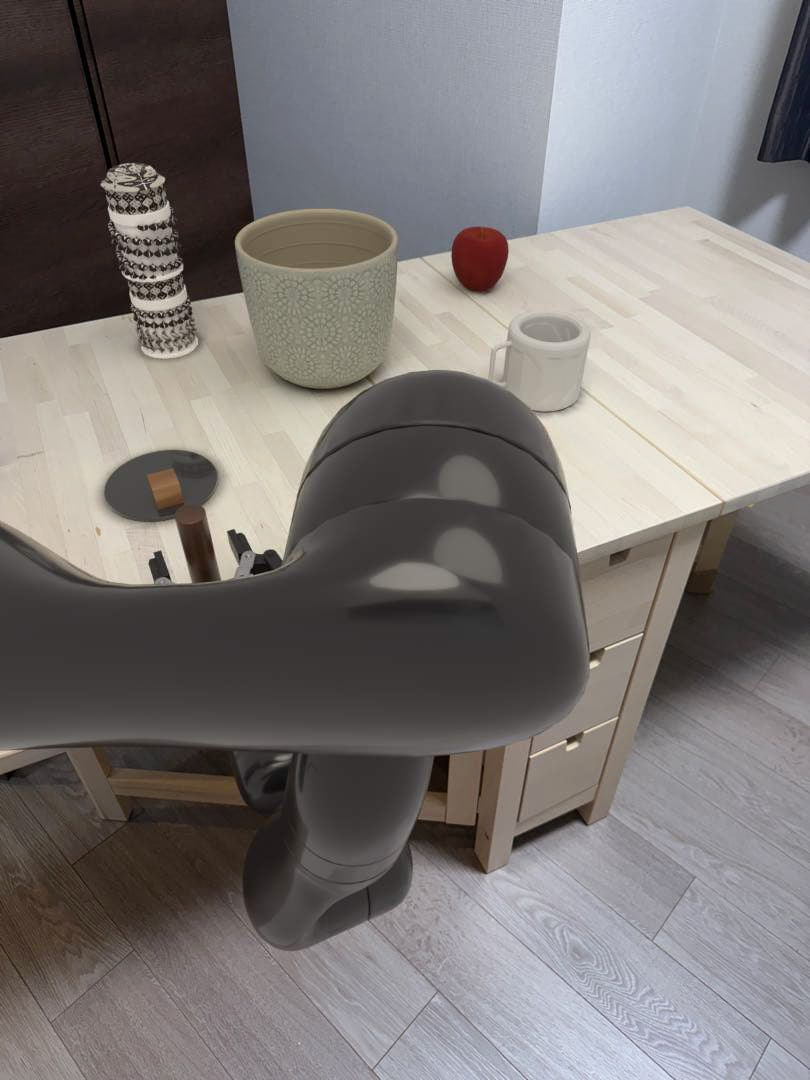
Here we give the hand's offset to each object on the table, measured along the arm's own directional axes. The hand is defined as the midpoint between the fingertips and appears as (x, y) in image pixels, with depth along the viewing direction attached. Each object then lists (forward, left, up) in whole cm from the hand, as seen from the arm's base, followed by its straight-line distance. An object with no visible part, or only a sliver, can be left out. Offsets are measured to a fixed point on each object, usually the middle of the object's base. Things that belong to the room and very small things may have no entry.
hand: (195, 547), depth 69 cm
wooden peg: (0, -2, -8) cm, 8 cm away
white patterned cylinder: (+20, +52, -8) cm, 56 cm away
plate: (+4, +21, -8) cm, 23 cm away
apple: (+71, +39, -8) cm, 81 cm away
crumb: (+4, +17, -7) cm, 19 cm away
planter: (+35, +32, -8) cm, 48 cm away
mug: (+54, +9, -8) cm, 55 cm away
